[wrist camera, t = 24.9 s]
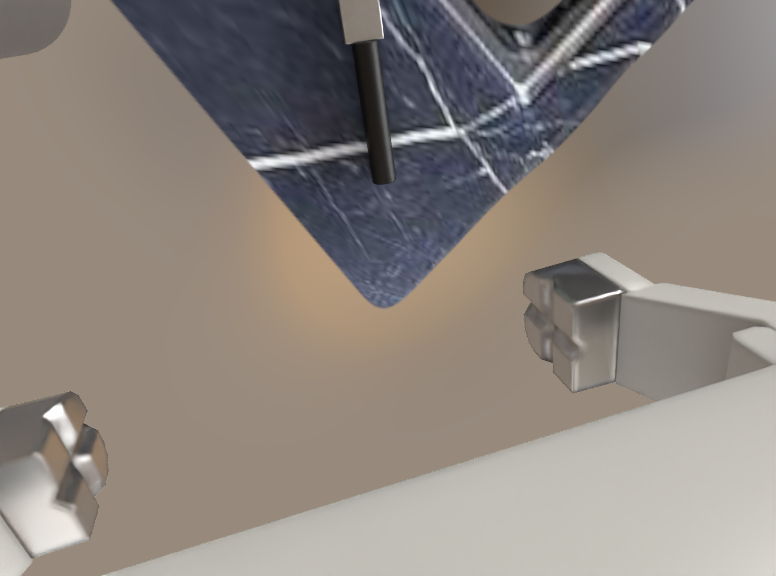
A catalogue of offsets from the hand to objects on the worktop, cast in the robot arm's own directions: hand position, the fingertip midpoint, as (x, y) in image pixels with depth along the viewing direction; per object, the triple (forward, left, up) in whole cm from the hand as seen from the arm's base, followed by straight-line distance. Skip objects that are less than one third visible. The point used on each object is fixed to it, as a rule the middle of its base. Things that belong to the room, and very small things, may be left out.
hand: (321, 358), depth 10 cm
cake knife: (+3, +10, -37) cm, 38 cm away
